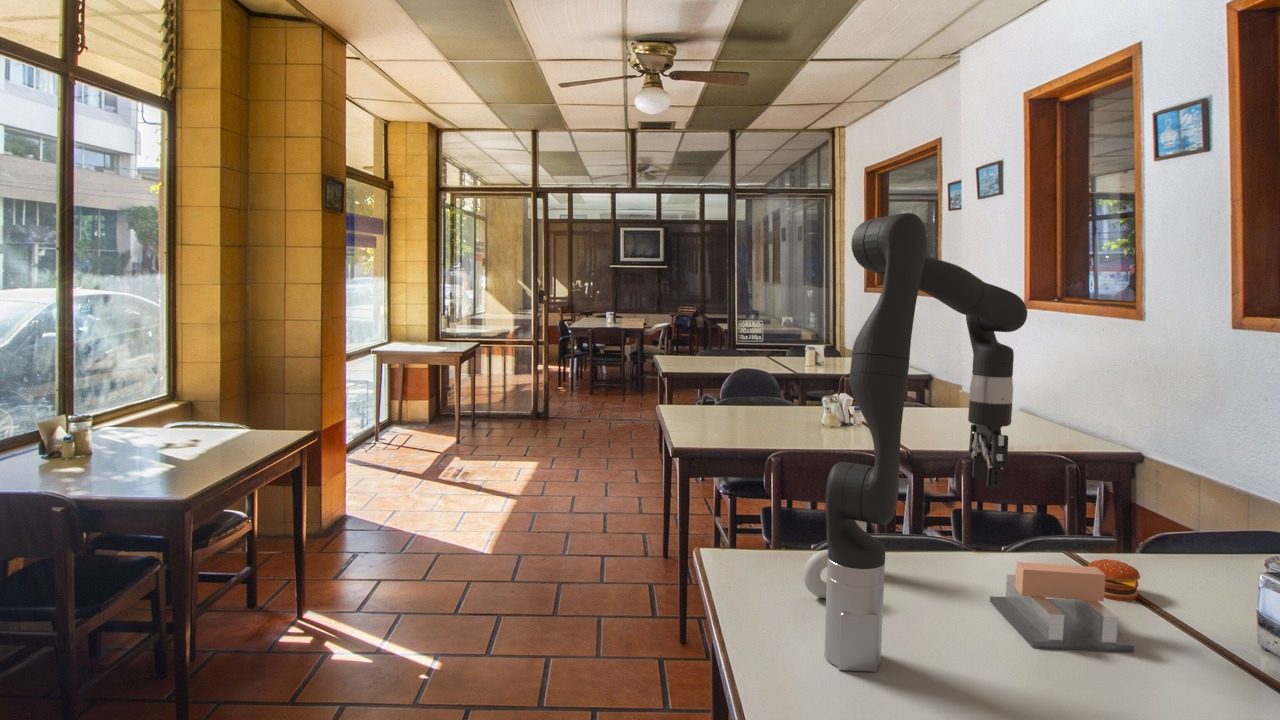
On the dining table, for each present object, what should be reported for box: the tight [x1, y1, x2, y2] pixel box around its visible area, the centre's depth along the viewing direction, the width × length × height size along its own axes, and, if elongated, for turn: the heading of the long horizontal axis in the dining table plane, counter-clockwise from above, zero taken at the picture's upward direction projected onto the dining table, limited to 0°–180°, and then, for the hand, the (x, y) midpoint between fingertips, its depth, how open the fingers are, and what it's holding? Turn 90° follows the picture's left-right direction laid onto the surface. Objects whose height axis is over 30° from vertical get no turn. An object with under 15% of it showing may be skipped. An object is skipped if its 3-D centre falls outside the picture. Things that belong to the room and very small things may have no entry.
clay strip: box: [1015, 561, 1106, 602], centre depth 146 cm, size 4×14×5 cm, turn 80°
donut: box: [802, 548, 828, 599], centre depth 158 cm, size 10×3×10 cm, turn 101°
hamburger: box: [1087, 558, 1141, 602], centre depth 163 cm, size 9×10×7 cm
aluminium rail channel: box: [989, 574, 1135, 653], centre depth 146 cm, size 20×17×6 cm
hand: (985, 483), depth 150 cm, fingers open, 8 cm apart
